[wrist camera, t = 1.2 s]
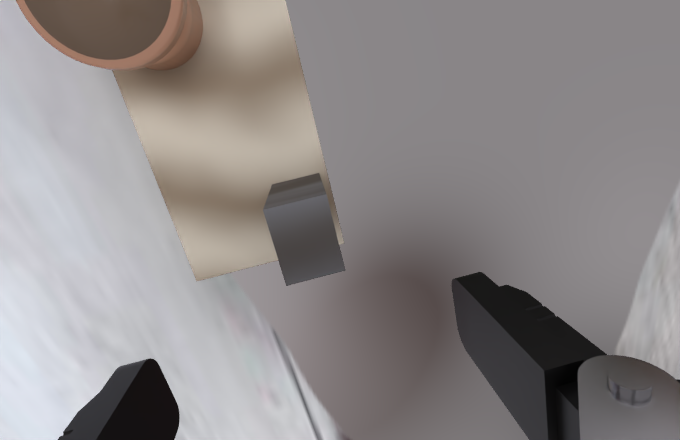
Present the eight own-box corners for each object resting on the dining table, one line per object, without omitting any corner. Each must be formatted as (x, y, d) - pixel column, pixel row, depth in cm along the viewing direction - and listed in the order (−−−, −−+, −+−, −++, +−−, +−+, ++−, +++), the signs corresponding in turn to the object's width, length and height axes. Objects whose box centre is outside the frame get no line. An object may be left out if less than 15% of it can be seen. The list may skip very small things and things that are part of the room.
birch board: (25, -172, 17) (-158, -362, 10) (233, -214, 17) (191, -423, 10) (200, 274, 24) (163, 336, 17) (342, 238, 24) (359, 285, 18)
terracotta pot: (70, -34, 17) (-31, -99, 12) (189, -60, 18) (142, -135, 12) (120, 91, 19) (52, 83, 14) (227, 66, 20) (201, 49, 14)
